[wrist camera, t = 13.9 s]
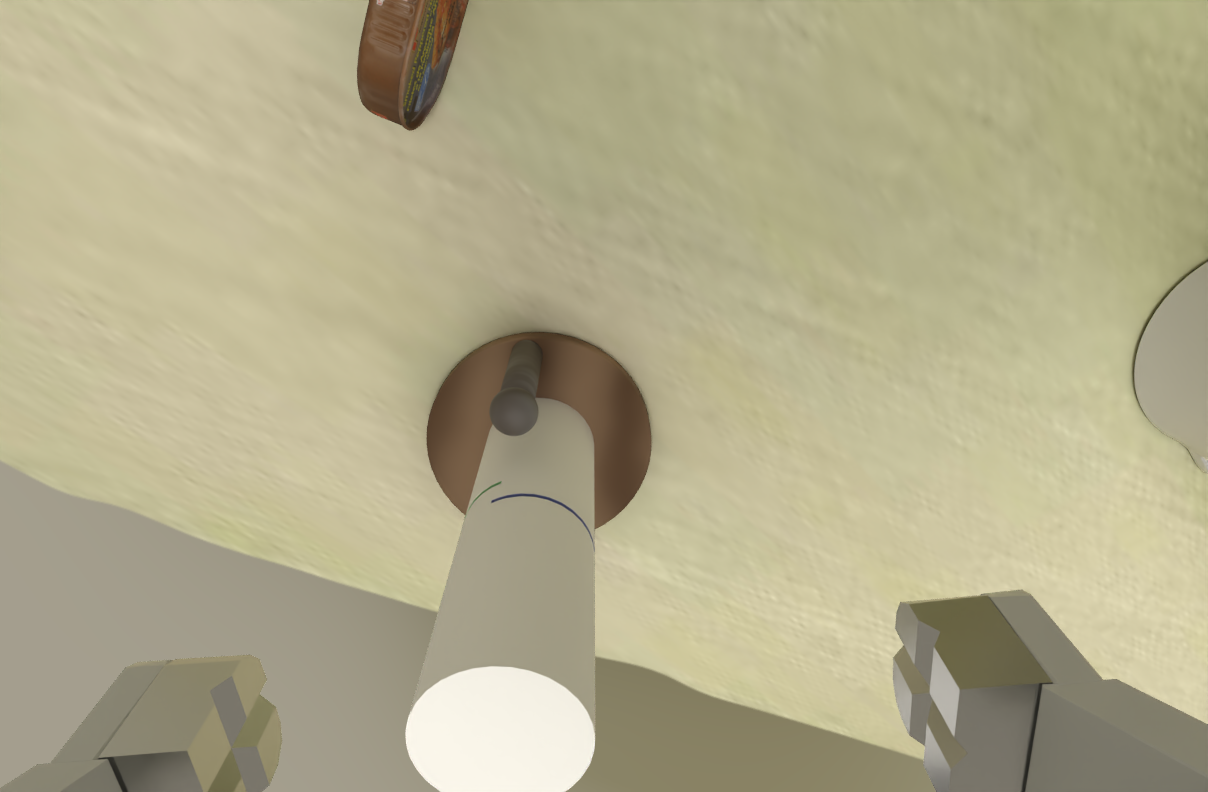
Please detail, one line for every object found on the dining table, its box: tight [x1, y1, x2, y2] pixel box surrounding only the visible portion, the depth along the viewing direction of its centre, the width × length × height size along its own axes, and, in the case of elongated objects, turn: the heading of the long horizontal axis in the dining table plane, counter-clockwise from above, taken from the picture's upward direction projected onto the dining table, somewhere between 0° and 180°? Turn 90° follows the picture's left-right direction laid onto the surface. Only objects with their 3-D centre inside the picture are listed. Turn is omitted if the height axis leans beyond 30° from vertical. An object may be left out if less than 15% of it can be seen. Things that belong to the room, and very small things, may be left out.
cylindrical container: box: [406, 398, 595, 792], centre depth 41 cm, size 7×7×25 cm
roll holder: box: [427, 332, 651, 529], centre depth 49 cm, size 15×16×12 cm
